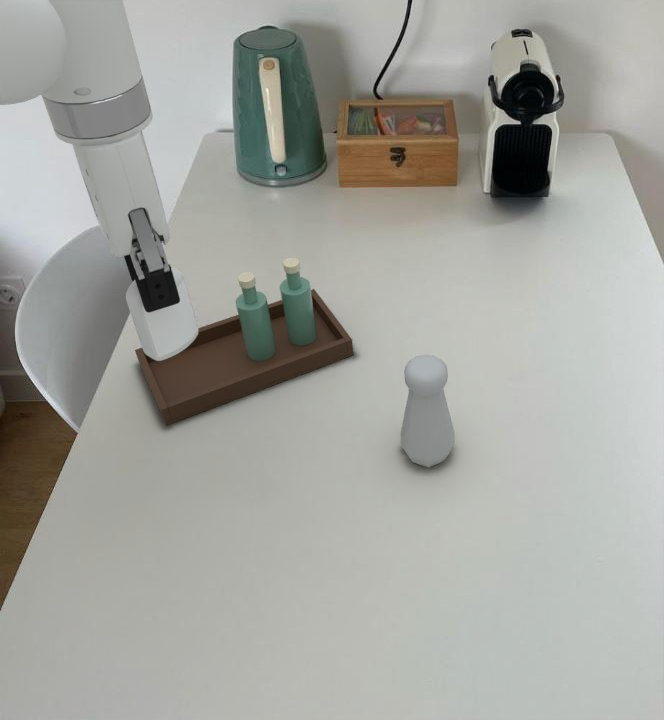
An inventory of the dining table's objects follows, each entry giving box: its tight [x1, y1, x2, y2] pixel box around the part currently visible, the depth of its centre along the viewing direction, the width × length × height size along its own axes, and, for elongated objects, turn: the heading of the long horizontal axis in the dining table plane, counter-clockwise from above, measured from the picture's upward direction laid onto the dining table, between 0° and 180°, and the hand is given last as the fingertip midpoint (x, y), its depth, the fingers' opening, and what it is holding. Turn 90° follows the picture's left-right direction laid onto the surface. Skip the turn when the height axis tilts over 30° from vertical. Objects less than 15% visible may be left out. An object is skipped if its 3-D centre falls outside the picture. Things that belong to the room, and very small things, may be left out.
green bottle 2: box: [279, 257, 317, 346], centre depth 98 cm, size 4×4×11 cm
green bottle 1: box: [235, 271, 276, 361], centre depth 96 cm, size 4×4×11 cm
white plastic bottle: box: [125, 252, 199, 361], centre depth 76 cm, size 4×6×12 cm
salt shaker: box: [400, 354, 456, 468], centre depth 83 cm, size 6×6×13 cm
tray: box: [134, 288, 355, 426], centre depth 99 cm, size 24×12×3 cm, turn 118°
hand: (155, 290), depth 75 cm, fingers closed on white plastic bottle, 4 cm apart
